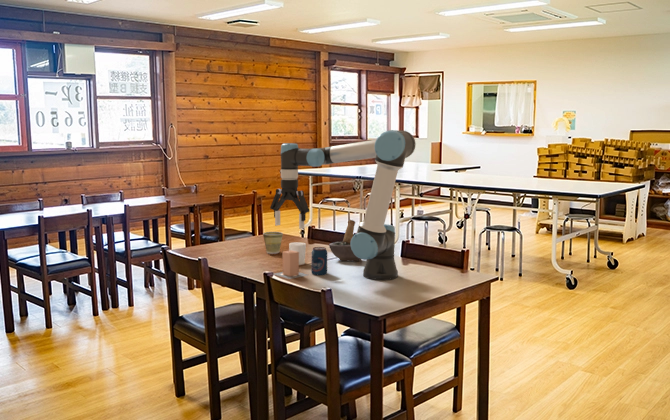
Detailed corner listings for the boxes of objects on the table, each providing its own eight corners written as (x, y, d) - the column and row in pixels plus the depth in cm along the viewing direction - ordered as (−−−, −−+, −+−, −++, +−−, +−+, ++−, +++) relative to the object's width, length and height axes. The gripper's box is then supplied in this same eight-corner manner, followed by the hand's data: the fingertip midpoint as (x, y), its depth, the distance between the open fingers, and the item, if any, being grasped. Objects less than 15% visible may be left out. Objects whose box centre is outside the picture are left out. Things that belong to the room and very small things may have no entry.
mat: (309, 276, 273) (309, 274, 272) (289, 280, 265) (289, 279, 265) (291, 271, 281) (291, 270, 281) (272, 275, 274) (272, 273, 274)
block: (298, 274, 273) (298, 252, 272) (289, 276, 269) (289, 253, 268) (291, 272, 276) (291, 250, 275) (282, 274, 273) (282, 251, 272)
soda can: (310, 276, 272) (310, 249, 271) (312, 272, 279) (313, 246, 278) (325, 277, 271) (326, 250, 270) (328, 273, 278) (328, 246, 277)
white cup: (303, 266, 291) (303, 245, 289) (287, 266, 292) (287, 244, 291) (307, 263, 298) (307, 242, 297) (291, 262, 300) (291, 241, 298)
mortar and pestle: (372, 261, 305) (373, 220, 302) (346, 265, 294) (347, 223, 291) (352, 255, 316) (353, 216, 313) (327, 260, 305) (327, 219, 303)
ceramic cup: (274, 255, 315) (274, 235, 314) (259, 253, 321) (259, 233, 319) (289, 251, 326) (289, 232, 325) (274, 248, 332) (274, 230, 330)
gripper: (317, 179, 270) (317, 228, 273) (273, 176, 285) (273, 223, 287) (306, 181, 264) (306, 230, 267) (262, 177, 278) (262, 225, 281)
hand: (289, 226), depth 277 cm, fingers open, 13 cm apart
